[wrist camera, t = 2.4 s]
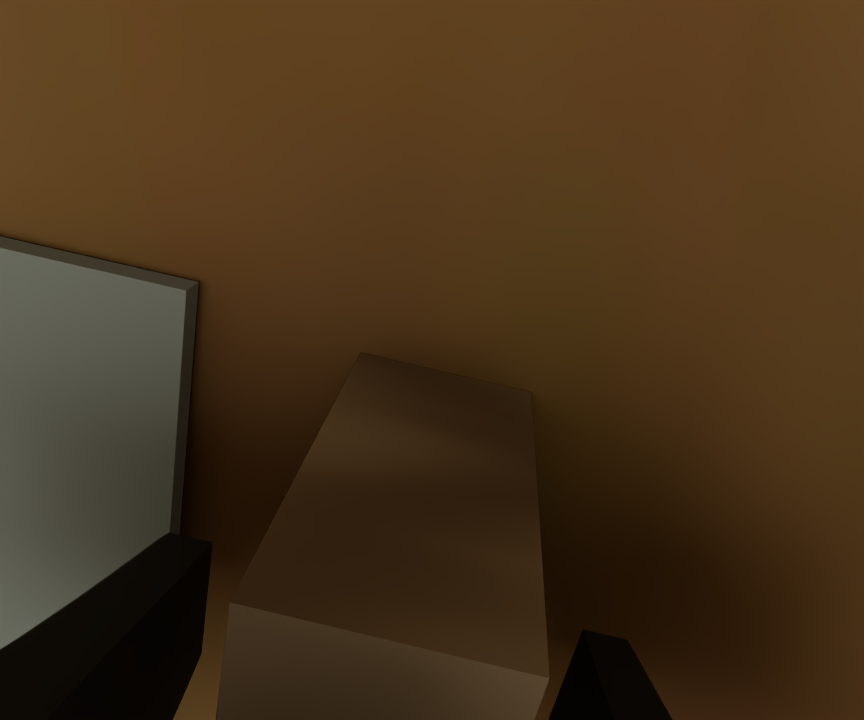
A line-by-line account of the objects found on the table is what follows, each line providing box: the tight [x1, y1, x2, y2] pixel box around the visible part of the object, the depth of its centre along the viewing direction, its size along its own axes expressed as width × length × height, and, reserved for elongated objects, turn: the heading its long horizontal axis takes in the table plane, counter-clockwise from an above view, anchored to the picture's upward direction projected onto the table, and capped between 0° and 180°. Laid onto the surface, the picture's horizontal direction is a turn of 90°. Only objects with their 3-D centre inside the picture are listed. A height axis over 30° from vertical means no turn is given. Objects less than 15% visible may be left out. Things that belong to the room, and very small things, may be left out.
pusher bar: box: [216, 353, 550, 720], centre depth 9 cm, size 2×7×5 cm, turn 168°
